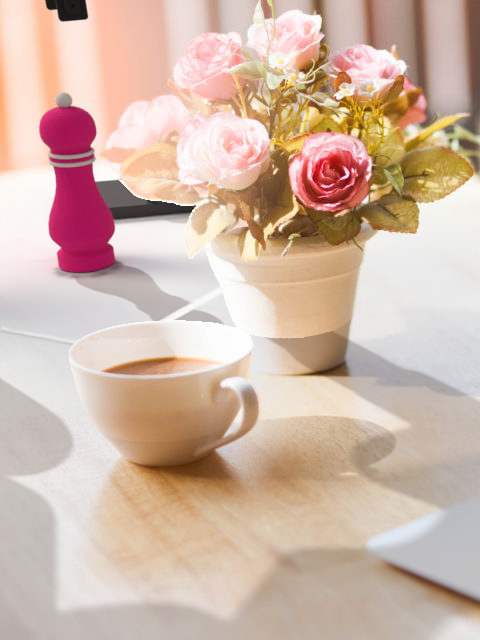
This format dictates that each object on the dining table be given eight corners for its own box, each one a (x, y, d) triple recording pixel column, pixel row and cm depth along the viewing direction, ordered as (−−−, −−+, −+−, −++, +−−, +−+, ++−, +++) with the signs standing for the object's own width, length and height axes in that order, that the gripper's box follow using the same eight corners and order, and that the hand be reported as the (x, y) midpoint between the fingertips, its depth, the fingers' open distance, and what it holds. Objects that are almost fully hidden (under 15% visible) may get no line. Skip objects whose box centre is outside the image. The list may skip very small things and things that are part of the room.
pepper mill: (40, 269, 136) (12, 96, 128) (83, 250, 142) (59, 84, 134) (91, 277, 133) (66, 101, 126) (132, 258, 140) (110, 89, 132)
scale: (68, 225, 151) (64, 198, 150) (67, 195, 164) (64, 171, 163) (196, 213, 156) (193, 187, 155) (186, 185, 169) (183, 161, 168)
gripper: (-3, -143, 138) (24, 7, 145) (15, -138, 124) (44, 28, 131) (64, -145, 141) (87, 2, 148) (89, -141, 127) (113, 22, 134)
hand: (67, 14), depth 139 cm, fingers open, 9 cm apart
